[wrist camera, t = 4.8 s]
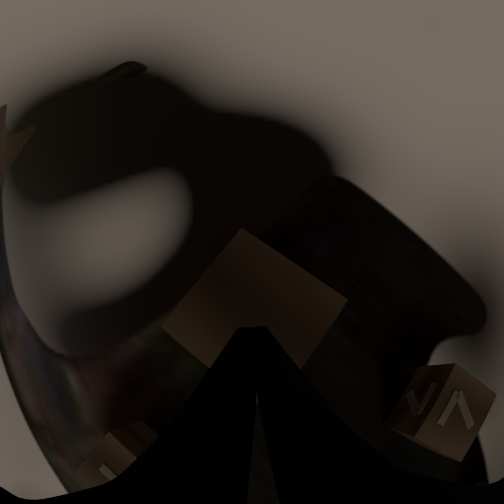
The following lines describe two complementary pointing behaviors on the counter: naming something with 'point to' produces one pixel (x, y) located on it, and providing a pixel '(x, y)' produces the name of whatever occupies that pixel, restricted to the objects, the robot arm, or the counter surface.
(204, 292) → the plain walnut block
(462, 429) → the walnut cube
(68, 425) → the counter surface
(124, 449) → the walnut cube
